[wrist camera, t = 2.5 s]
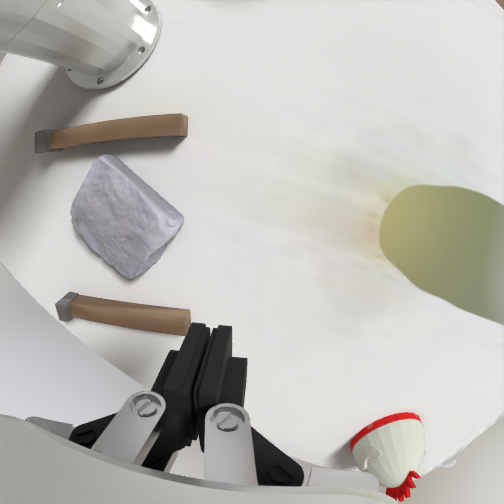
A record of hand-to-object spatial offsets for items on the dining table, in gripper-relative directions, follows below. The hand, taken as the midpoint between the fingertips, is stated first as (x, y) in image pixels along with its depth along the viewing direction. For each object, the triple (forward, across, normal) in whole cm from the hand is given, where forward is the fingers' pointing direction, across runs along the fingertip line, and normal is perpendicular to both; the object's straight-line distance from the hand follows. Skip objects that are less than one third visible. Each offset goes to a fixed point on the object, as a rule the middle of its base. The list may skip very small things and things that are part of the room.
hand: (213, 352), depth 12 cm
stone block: (+19, +13, -1) cm, 23 cm away
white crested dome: (+19, -27, +36) cm, 49 cm away
